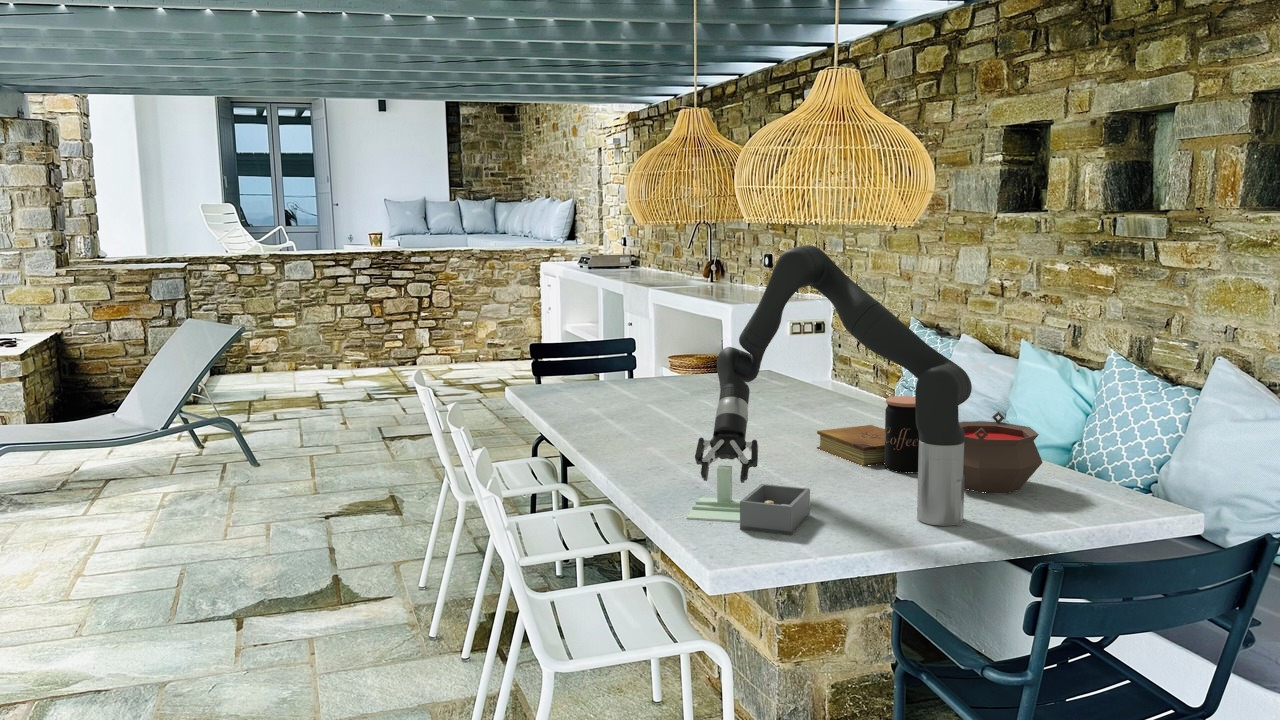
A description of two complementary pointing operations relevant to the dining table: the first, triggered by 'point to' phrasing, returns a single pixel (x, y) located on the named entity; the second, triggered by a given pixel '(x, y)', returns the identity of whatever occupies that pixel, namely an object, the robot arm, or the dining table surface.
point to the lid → (719, 501)
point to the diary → (855, 444)
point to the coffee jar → (901, 434)
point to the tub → (775, 509)
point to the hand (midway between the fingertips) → (723, 480)
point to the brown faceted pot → (998, 455)
